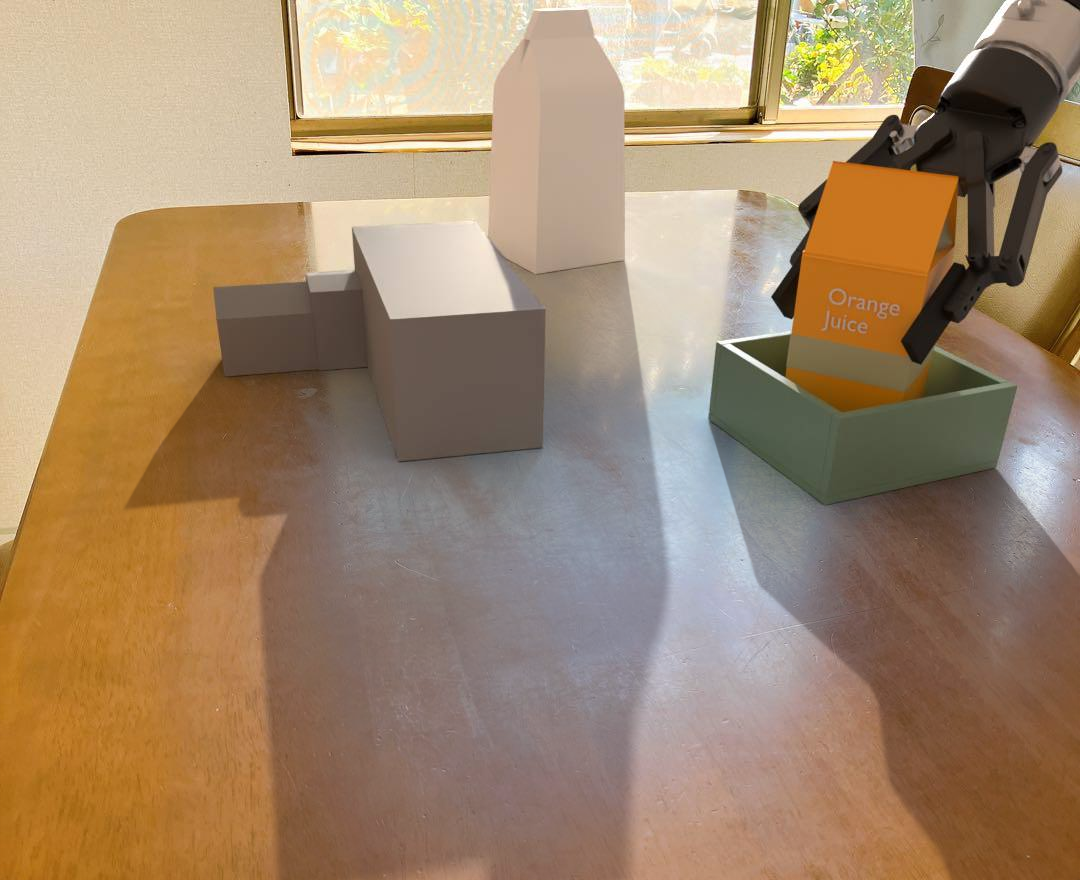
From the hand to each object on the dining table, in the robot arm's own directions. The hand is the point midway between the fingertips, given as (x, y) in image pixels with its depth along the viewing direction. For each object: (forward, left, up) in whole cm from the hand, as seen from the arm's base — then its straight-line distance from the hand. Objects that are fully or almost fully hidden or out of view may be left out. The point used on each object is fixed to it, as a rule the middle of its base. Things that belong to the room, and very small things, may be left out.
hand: (842, 329), depth 77 cm
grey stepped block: (+23, +29, -10) cm, 38 cm away
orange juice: (+1, -3, -9) cm, 10 cm away
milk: (+56, -3, -10) cm, 57 cm away
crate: (+1, -3, -10) cm, 10 cm away
